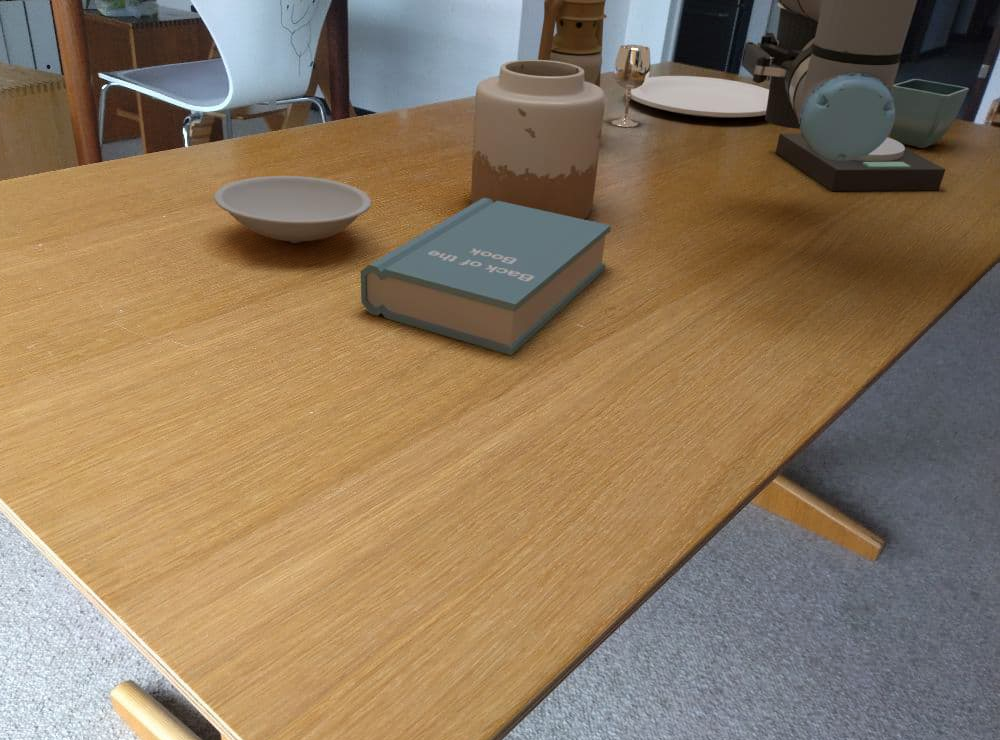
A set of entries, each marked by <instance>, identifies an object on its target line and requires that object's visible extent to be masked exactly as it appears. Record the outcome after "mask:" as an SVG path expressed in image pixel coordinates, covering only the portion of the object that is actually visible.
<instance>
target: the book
mask: <svg viewBox="0 0 1000 740" xmlns="http://www.w3.org/2000/svg"><path fill="white" fill-rule="evenodd" d="M610 232H611V225H610V224H606V223H601V222H596V221H592V220H587V219H584V220H583V219H579V218H574V217H570V216H565V215H561V214H556V213H552V212H547V211H542V210H538V209H533V208H529V207H524V206H520V205H515V204H511V203H506V202H501V201H496V202H495V203H493V202H492V200H491V199H488V198H482V199H480V200H479V201H477V202H475V203H473V204H472V203H471V204H470V205H468V206H467V207H465V208H463V209H461V210H460V211H458V212H456V213H455V214H453V215H451V216H449V217H448V218H446V219H445V220H443V221H441V222H439V223H437V224H436V225H434V226H433V227H431V228H429V229H427V230H426V231H424V232H422V233H421V234H418V235H417V236H416V237H414V238H412V239H410V240H408V241H407V242H405V243H403V244H402V245H400V246H398V247H396V248H395V249H393V250H391V251H390V252H388V253H386V254H384V255H383V256H381V257H379V258H378V259H376V260H374V261H373V262H371V263H370V264H368V265H366V266H365V267H364V268H363V269H362V270H360V302H361V304H362V305H363V307H364V308H365V309H366V310H367V312H368V313H369V314H370V315H374V316H379V315H382V316H383V317H384V319H388V320H390V321H394V322H398V323H401V324H404V325H408V326H411V327H415V328H418V329H421V330H425V331H428V332H432V333H434V334H438V335H441V336H444V337H448V338H452V339H455V340H458V341H461V342H465V343H468V344H472V345H475V346H478V347H482V348H485V349H488V350H492V351H495V352H499V353H502V354H506V355H508V356H513V355H514V354H515V353H516V352H517V351H518V350H519V349H521V347H522V346H523V345H525V344H526V343H527V342H528V341H529V340H530V339H531V338H532V337H534V335H536V334H537V333H538V332H539V331H540V330H541V329H542V328H543V327H544V326H545V325H546V324H548V323H549V322H550V321H551V320H552V319H553V318H554V317H556V315H557V314H558V313H560V311H562V310H563V309H564V308H566V306H567V305H568V304H569V303H571V301H573V299H574V298H576V297H577V296H578V295H579V294H580V293H582V292H583V290H584V289H585V288H587V287H588V286H589V285H590V284H591V283H592V282H594V280H595V279H596V278H597V277H598V276H600V275H601V274H602V273H603V272H604V271H605V270H606V263H605V262H603V257H604V251H605V242H606V236H607V235H608V234H609V233H610Z"/></svg>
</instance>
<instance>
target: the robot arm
mask: <svg viewBox="0 0 1000 740" xmlns="http://www.w3.org/2000/svg"><path fill="white" fill-rule="evenodd" d="M774 1H775V2H776V3H777V4H778V3H779V4H780V5H782V6H783V8H785V9H787V10H788V11H790V12H793V13H796V14H801V15H804V16H807V17H809V18H812V19H814V20H816V21H818V26H817V31H816V35H815V40H814V44H813V46H811V47H809V48H807V49H805V50H804V51H801V50H790V51H788V50H785V49H783V48H780V47H778V46H777V41H776V39H777V38H776V37H775V34H774V33H773V32H765V33H766V34H765V35H762V36H761V39H760V42H757V44H756V43H754V42H753V41H746V42H745V43H744V48H743V53H742V57H741V63H740V66H741V67H742V68H743V69H745V70H746V71H747V72H748V73H749V74H750V75H751V76H752V82H755V84H761V83H764V82H765V81H769V82H770V81H771V76H775V77H778V79H779V81H780V82H781V83H783V84H785V88H786V93H787V96H788V99H789V101H790V104H791V106H792V107H793V110H794V112H795V114H796V117H797V119H798V121H799V124H800V129H799V130H800V132H801V133H802V136H803V138H804V140H805V141H806V142H808V144H809V145H810V146H811V147H812V148H813V149H814V150H815V151H816V152H817V153H818V154H820V155H822V156H823V157H825V158H828V159H831V160H836V161H850V160H855V159H859V158H862V157H864V156H866V155H868V154H870V153H871V152H873V151H874V150H875V149H877V148H878V147H879V146H880V145H881V144H882V143H883V142H884V141H885V139H886V138H887V137H888V136H890V131H891V129H892V127H893V123H894V119H895V107H894V99H893V96H892V94H891V91H892V88H893V85H895V81H896V78H897V74H898V70H899V66H900V63H901V56H902V53H903V52H902V51H903V48H904V45H905V41H906V39H907V36H908V33H909V28H910V25H911V22H912V19H913V15H914V12H915V9H916V6H917V2H918V0H774ZM888 138H889V137H888Z"/></svg>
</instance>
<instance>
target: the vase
mask: <svg viewBox="0 0 1000 740" xmlns="http://www.w3.org/2000/svg"><path fill="white" fill-rule="evenodd" d="M584 75H585V73H584V70H583V69H582V68H581V67H579V66H576V65H573V64H569V63H564V62H557V61H548V60H538V59H518V60H511V61H507V62H505V63H503V64H501V66H500V68H499V75H496V76H491V77H488V78H485V79H483V80H482V81H480V82H479V83H478V84H477V86H476V89H475V97H474V99H475V100H474V118H473V119H474V120H473V142H472V165H471V185H470V186H471V189H470V203H471V205H472V204H473V203H475V202H477V201H479V200H480V199H482V198H488V199H491V200H492V202H493V203H495V202H496V201H501V202H506V203H511V204H515V205H520V206H524V207H529V208H533V209H538V210H542V211H547V212H552V213H556V214H561V215H565V216H570V217H574V218H579V219H583V220H587V218H588V217H589V216H590V215H591V213H592V210H593V206H594V205H593V204H594V198H595V188H596V180H597V174H598V165H599V156H600V148H601V140H602V131H603V123H604V115H605V107H606V93H605V91H604V90H603V88H601V86H600V87H598V86H596V85H594V84H592V83H589V82H586V81H584Z"/></svg>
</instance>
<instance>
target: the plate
mask: <svg viewBox="0 0 1000 740" xmlns="http://www.w3.org/2000/svg"><path fill="white" fill-rule="evenodd" d="M627 90H628V89H626V88H625V93H626V92H627ZM631 92H632V96H631V99H630V100H633V101H635V102H637V103H639V104H642V105H644V106H648V107H651V108H655V109H659V110H662V111H666V112H668V113H669V112H670V113H674V114H680V115H683V116H691V117H696V118H712V119H732V118H733V119H734V118H752V117H760V116H761V117H762V116H766V109H767V102H768V95H769V88H765V87H762V86H759V85H755V84H751V83H747V82H743V81H737V80H731V79H725V78H719V77H718V78H717V77H707V76H695V75H693V76H692V75H660V76H659V75H658V76H649V77H648V79H647V81H646V82H645V83H644V84H643V85H642V86H640V87H638V88H635V89H631Z"/></svg>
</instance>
